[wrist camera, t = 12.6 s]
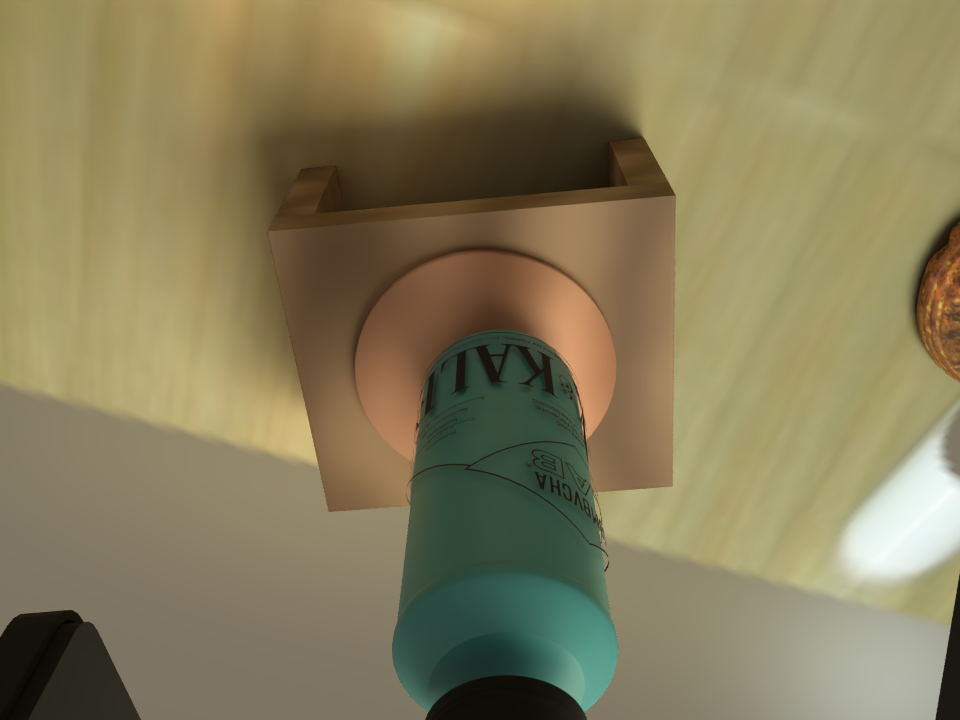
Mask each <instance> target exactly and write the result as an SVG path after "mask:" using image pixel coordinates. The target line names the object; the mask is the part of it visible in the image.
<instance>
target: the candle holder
mask: <svg viewBox="0 0 960 720" xmlns="http://www.w3.org/2000/svg"><path fill="white" fill-rule="evenodd" d="M953 243H954V244H953ZM952 244H953V245H952ZM948 253H949V254H948ZM939 263H940V264H939ZM955 269H956V270H955ZM940 283H941V284H940ZM939 289H940V290H939ZM936 299H937V300H936ZM920 302H921V303H920ZM953 310H954V311H953ZM935 314H936V315H935ZM942 319H943V320H942ZM917 321H918V325H919V333H920V337H921V341H922V343H923V345H924V347H925V348H926V350H927V352H928V354H929V355H930V357H931V358H932V359H933V360H934V362H935V363H936V364H937V365H938V366H939V367H940V368H942V369H943V370H944V371H945V372H946V373H947V374H948V375H949V376H951V377H952V378H953V379H955V380H957V381H958V382H960V221H959V222H958V223H957V224H956V225H955V226H954V227H953V228H952V230H951V234H950V237H949V243H948V244H947V245H946V246H945V247H943V248H942V249H940V250H939V251H938V252H937V253H935V254H934V255H933V256H932V258H931V259H930V260H929V262H928V265H927V267H926V270H925V274H924V277H923V279H922V282H921V286H920V291H919V297H918V303H917ZM945 332H946V333H945ZM932 336H933V337H932ZM933 341H934V342H933ZM951 350H952V351H951ZM940 352H941V353H940Z"/></svg>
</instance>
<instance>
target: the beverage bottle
mask: <svg viewBox="0 0 960 720" xmlns="http://www.w3.org/2000/svg"><path fill="white" fill-rule="evenodd" d="M555 351H556V350H555V349H553V348H552V347H551V346H549V345H548V344H546V343H545V342H543V341H542V340H540V339H539V338H536V337H534V336H532V335H530V334H526V333H523V332H519V331H514V330H504V329H499V330H487V331H482V332H478V333H474V334H471V335H469V336H466V337H464V338H462V339H460V340H459V341H457V342H456V343H454V344H453V345H451V346H450V347H449V348H447V349H446V350H445V351H443V352H442V353H441V354H442V355H441V354H440V355H441V356H440V355H439V356H440V357H439V356H438V357H439V358H438V357H437V358H438V359H437V358H436V359H437V360H436V359H435V360H436V361H435V360H434V361H435V363H434V364H433V366H432V367H431V369H430V371H429V372H428V375H426V376H427V378H425V379H426V381H425V384H424V386H423V388H424V391H423V388H422V390H421V394H422V391H423V398H422V403H421V410H419V412H421V414H420V420H419V424H418V420H417V423H416V425H417V426H416V428H415V429H416V430H415V431H417V430H418V428H419V430H418V435H417V437H418V438H417V440H416V441H417V442H415V443H416V445H417V446H416V445H415V447H416V454H415V458H414V460H415V462H414V464H413V465H414V470H413V471H412V472H413V477H412V479H411V480H410V481H412V485H411V487H410V490H411V496H410V503H409V504H410V506H411V507H410V517H409V525H408V534H407V543H406V551H405V560H404V569H403V578H402V586H401V594H400V603H399V612H398V620H397V624H396V627H395V630H394V636H393V644H392V657H393V663H394V667H395V670H396V673H397V675H398V678H399V680H400V682H401V684H402V686H403V687H404V689H405V690H406V691H407V693H408V694H409V695H410V697H411V698H412V699H413V700H414V701H415V702H416V703H417V704H418V705H420V706H421V707H422V708H423V709H424V710H426V711H427V712H428V714H427V717H426V719H425V720H587V719H586V716H585V713H584V712H585V711H586V710H587V709H589V708H590V707H591V706H592V705H593V704H594V703H595V702H596V701H597V700H598V699H599V698H600V696H601V695H602V694H603V693H604V691H605V690H606V689H607V687H608V685H609V683H610V681H611V680H612V677H613V674H614V672H615V668H616V663H617V658H618V642H617V636H616V630H615V627H614V624H613V621H612V619H611V614H610V607H609V601H608V594H607V587H606V580H605V574H604V572H605V571H606V569H607V568H608V565H607V567H606V569H605V570H604V560H603V554H602V551H603V552H605V551H604V550H603V549H602V548H601V542H600V535H599V531H600V530H601V539H602V536H603V539H604V536H605V535H602V532H604V530H603V529H601V526H602V525H603V524H602V522H601V521H600V519H599V523H597V522H598V517H596V516H597V514H596V511H595V504H594V498H593V495H594V494H595V493H594V494H593V492H594V491H593V489H592V486H591V480H590V472H589V465H588V453H587V446H588V444H587V442H586V433H585V427H586V423H584V422H585V418H584V414H583V408H582V405H583V404H582V405H581V401H580V397H579V393H578V390H577V386H576V384H575V382H574V380H573V377H572V374H571V373H572V372H571V371H570V369H568V366H567V365H566V364H565V362H564V361H563V360H562V358H561V357H560V356H559V355H558V354H557V353H558V352H557V351H556V352H557V353H556V352H555ZM559 354H560V353H559ZM560 355H561V354H560ZM434 361H433V362H434ZM565 361H566V360H565ZM433 362H432V363H433ZM566 362H567V361H566ZM567 363H568V362H567ZM430 366H431V365H430ZM569 366H570V365H569ZM570 367H571V366H570ZM428 369H429V368H428ZM571 369H572V368H571ZM426 372H427V371H426ZM425 374H426V373H425ZM574 374H575V373H574ZM424 376H425V375H424ZM575 376H576V375H575ZM423 378H424V377H423ZM425 379H424V380H425ZM574 379H575V377H574ZM422 380H423V379H422ZM577 381H578V380H577ZM423 382H424V381H423ZM578 384H579V383H578ZM578 387H579V386H578ZM421 394H420V398H421ZM580 394H581V392H580ZM577 396H578V399H577ZM578 400H579V403H580V406H581V407H580V410H582V414H581V418H580V412H579V405H578ZM419 402H420V401H419ZM418 414H419V413H418ZM418 417H419V415H418ZM582 418H583V421H582ZM582 425H583V430H582ZM586 431H587V429H586ZM583 433H584V436H583ZM587 435H588V434H587ZM413 436H414V435H413ZM415 438H416V435H415ZM414 441H415V439H414ZM588 441H589V440H588ZM588 448H589V447H588ZM413 452H414V451H413ZM588 452H589V450H588ZM413 454H414V453H413ZM590 454H591V453H590ZM590 458H591V457H590ZM412 460H413V459H412ZM591 460H592V458H591ZM412 462H413V461H412ZM412 467H413V466H412ZM411 469H412V468H411ZM411 474H412V473H411ZM411 476H412V475H411ZM409 478H410V476H409ZM591 478H592V477H591ZM592 480H593V479H592ZM410 481H409V482H410ZM593 483H594V482H593ZM408 484H409V483H408ZM410 484H411V483H410ZM407 486H408V485H407ZM406 489H407V488H406ZM595 489H596V488H595ZM595 496H596V495H595ZM595 496H594V497H595ZM597 496H598V495H597ZM406 497H407V495H406ZM596 498H597V497H596ZM596 498H595V499H596ZM407 500H408V498H407ZM596 501H597V500H596ZM408 502H409V501H408ZM597 503H598V502H597ZM598 506H599V505H598ZM599 509H600V508H599ZM600 514H601V513H600ZM601 520H602V518H601ZM600 523H601V525H600V529H598V528H599V524H600ZM605 544H606V542H605ZM605 553H606V552H605ZM606 555H607V553H606ZM607 556H608V555H607ZM608 564H609V563H608Z"/></svg>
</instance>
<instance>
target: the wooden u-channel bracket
mask: <svg viewBox="0 0 960 720" xmlns="http://www.w3.org/2000/svg"><path fill="white" fill-rule="evenodd" d="M609 155H610V187H608V188H597V189H586V190H575V191H563V192H552V193H541V194H530V195H519V196H507V197H496V198H485V199H474V200H462V201H451V202H440V203H429V204H418V205H406V206H395V207H384V208H373V209H361V210H350V211H343V205H342V200H341V194H340V188H339V182H338V177H337V171H336V166H331V167H320V168H309V169H302V170H301V172H300V174H299V175H298V177H297V179H296V181H295V183H294V184H293V186H292V188H291V190H290V192H289V193H288V195H287V197H286V199H285V201H284V202H283V204H282V206H281V208H280V210H279V211H278V213H277V215H276V217H275V219H274V220H273V222H272V224H271V226H270V228H269V229H268V231H267V233H268V237H269V242H270V246H271V251H272V255H273V260H274V264H275V269H276V274H277V278H278V283H279V287H280V292H281V296H282V301H283V305H284V310H285V315H286V319H287V324H288V328H289V333H290V337H291V342H292V346H293V351H294V356H295V360H296V365H297V369H298V374H299V378H300V383H301V387H302V392H303V396H304V401H305V406H306V410H307V415H308V419H309V424H310V428H311V433H312V437H313V442H314V447H315V451H316V456H317V460H318V465H319V469H320V474H321V478H322V483H323V487H324V492H325V497H326V501H327V506H328V510H329V512H333V511H346V510H360V509H372V508H387V507H401V506H410V504H409V503H410V496H411V490H410V487H411V485H412V481H410V480H411V479H412V477H413V472H412V471H413V470H414V465H413V464H414V462H415V460H414V458H415V454H416V447H415V445H416V443H415V442H417V441H416V440H417V438H418V437H417V435H418V430H419V428H418V430H417V431H415V430H416V429H415V428H416V426H417V425H416V423H417V420H418V424H419V420H420V414H421V412H419V410H421V403H422V398H423V391H424V388H423V386H424V384H425V381H426V379H425V378H427V376H426V375H428V372H429V371H430V369H431V367H432V366H433V364H434V363H435V361H436V360H437V359H438V358H439V357H440V356H441V355H442V354H441V353H442V352H443V351H445V350H446V349H447V348H449V347H450V346H451V345H453V344H454V343H456V342H457V341H459V340H460V339H462V338H464V337H466V336H469V335H471V334H474V333H478V332H482V331H487V330H499V329H504V330H514V331H519V332H523V333H526V334H530V335H532V336H534V337H536V338H539V339H540V340H542V341H543V342H545V343H546V344H548V345H549V346H551V347H552V348H553V349H555V350H556V351H557V352H558V353H557V352H556V351H555V352H556V353H557V354H558V355H559V356H560V357H561V358H562V360H563V361H564V362H565V364H566V365H567V366H568V369H570V371H571V372H572V373H571V374H572V377H573V380H574V382H575V384H576V386H577V390H578V393H579V397H580V401H581V405H582V404H583V405H582V408H583V414H584V418H585V422H584V423H586V427H585V433H586V442H587V444H588V446H587V453H588V465H589V472H590V480H591V486H592V489H593V491H594V492H605V491H618V490H632V489H646V488H659V487H673V403H674V308H675V212H676V195H675V193H674V191H673V190H672V188H671V186H670V184H669V182H668V181H667V179H666V177H665V175H664V173H663V172H662V170H661V168H660V166H659V164H658V162H657V161H656V159H655V157H654V155H653V153H652V152H651V150H650V148H649V146H648V144H647V143H646V141H645V139H644V138H637V139H626V140H615V141H609ZM559 353H560V354H561V355H560V354H559ZM440 354H441V355H440ZM439 355H440V356H439ZM438 356H439V357H438ZM437 357H438V358H437ZM436 358H437V359H436ZM435 359H436V360H435ZM434 360H435V361H434ZM565 360H566V361H567V362H568V363H567V362H566V361H565ZM433 361H434V362H433ZM432 362H433V363H432ZM430 365H431V366H430ZM569 365H570V366H571V367H570V366H569ZM428 368H429V369H428ZM571 368H572V369H571ZM426 371H427V372H426ZM425 373H426V374H425ZM574 373H575V374H574ZM424 375H425V376H424ZM575 375H576V376H575ZM423 377H424V378H423ZM574 377H575V379H574ZM422 379H423V380H422ZM424 379H425V380H424ZM577 380H578V381H577ZM423 381H424V382H423ZM578 383H579V384H578ZM578 386H579V387H578ZM422 388H423V391H422V394H421V390H422ZM580 392H581V394H580ZM420 394H421V398H420ZM577 399H578V396H577ZM419 401H420V402H419ZM578 405H579V412H580V418H581V414H582V410H580V407H581V406H580V403H579V400H578ZM418 413H419V414H418ZM418 415H419V417H418ZM582 421H583V418H582ZM586 429H587V431H586ZM582 430H583V425H582ZM587 434H588V435H587ZM413 435H414V436H413ZM415 435H416V438H415ZM583 436H584V433H583ZM414 439H415V441H414ZM588 440H589V441H588ZM416 446H417V445H416ZM588 447H589V448H588ZM588 450H589V452H588ZM413 451H414V452H413ZM413 453H414V454H413ZM590 453H591V454H590ZM590 457H591V458H592V460H591V458H590ZM412 459H413V460H412ZM412 461H413V462H412ZM412 466H413V467H412ZM411 468H412V469H411ZM411 473H412V474H411ZM411 475H412V476H411ZM409 476H410V478H409ZM591 477H592V478H591ZM592 479H593V480H592ZM409 481H410V482H409ZM593 482H594V483H593ZM408 483H409V484H408ZM410 483H411V484H410ZM407 485H408V486H407ZM406 488H407V489H406ZM595 488H596V489H595ZM406 495H407V497H406ZM407 498H408V500H407ZM408 501H409V502H408Z"/></svg>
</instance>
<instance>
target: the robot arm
mask: <svg viewBox="0 0 960 720" xmlns="http://www.w3.org/2000/svg"><path fill="white" fill-rule="evenodd" d="M0 720H141V719H140V717H139V715H138V713H137V711H136V709H135V707H134V705H133V703H132V701H131V699H130V697H129V695H128V692H127V690H126V688H125V686H124V684H123V682H122V680H121V678H120V676H119V674H118V672H117V670H116V668H115V666H114V664H113V662H112V660H111V658H110V656H109V653H108V651H107V649H106V647H105V645H104V643H103V641H102V639H101V637H100V635H99V633H98V631H97V629H96V628H95V626H94V625H93V624H92V623H90V622H83V620H82V619H81V617H80V616H79V614H78V613H76V612H74V611H73V610H66V611H65V610H64V611H53V612H41V613H29V614H20V615H18V616H17V617H15V618H13V620H12V621H11V622H10V623H9V625H8V626H7V628H6V629H5V631H4V632H3V634H2V635H1V637H0ZM936 720H960V575H959V581H958V587H957V593H956V599H955V605H954V611H953V617H952V623H951V629H950V635H949V641H948V648H947V654H946V660H945V665H944V672H943V678H942V683H941V689H940V695H939V701H938V708H937V714H936Z"/></svg>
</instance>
